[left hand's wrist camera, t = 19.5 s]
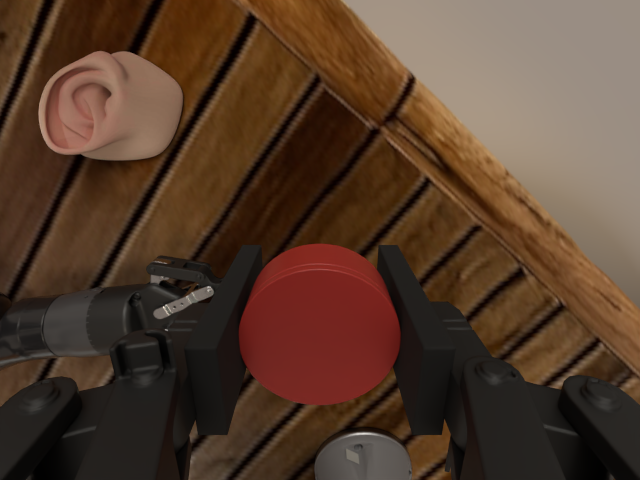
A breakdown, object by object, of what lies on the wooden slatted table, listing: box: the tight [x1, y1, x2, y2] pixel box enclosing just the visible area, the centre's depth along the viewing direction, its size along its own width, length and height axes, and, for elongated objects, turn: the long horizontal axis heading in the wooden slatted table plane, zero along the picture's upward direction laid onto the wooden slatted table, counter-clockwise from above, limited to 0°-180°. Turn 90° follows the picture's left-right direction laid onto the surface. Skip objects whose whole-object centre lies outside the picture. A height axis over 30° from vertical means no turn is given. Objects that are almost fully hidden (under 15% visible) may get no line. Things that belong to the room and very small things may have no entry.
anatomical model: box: [39, 51, 183, 160], centre depth 36 cm, size 13×4×12 cm
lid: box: [239, 244, 401, 405], centre depth 11 cm, size 5×5×2 cm
